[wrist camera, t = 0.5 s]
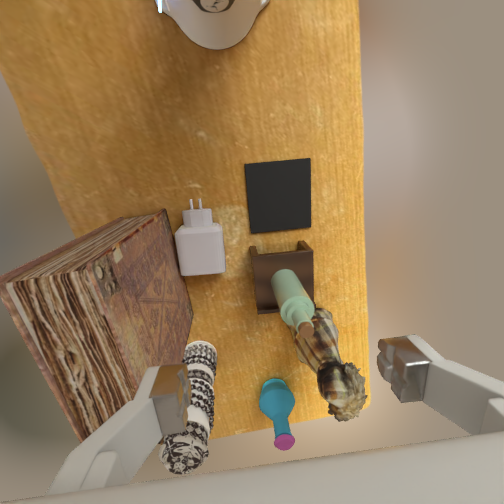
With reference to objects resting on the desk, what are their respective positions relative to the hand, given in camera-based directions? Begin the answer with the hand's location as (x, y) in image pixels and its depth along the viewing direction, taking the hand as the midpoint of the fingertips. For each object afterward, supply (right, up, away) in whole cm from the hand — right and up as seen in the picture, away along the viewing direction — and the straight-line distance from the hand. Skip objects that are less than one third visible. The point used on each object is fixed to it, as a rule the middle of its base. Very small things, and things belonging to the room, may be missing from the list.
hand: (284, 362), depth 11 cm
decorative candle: (-14, -21, +54) cm, 60 cm away
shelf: (+5, +1, +48) cm, 48 cm away
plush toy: (+13, -12, +53) cm, 56 cm away
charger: (-12, +9, +44) cm, 46 cm away
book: (-21, +1, +46) cm, 51 cm away
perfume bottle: (+5, -32, +59) cm, 68 cm away
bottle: (+5, -1, +41) cm, 41 cm away
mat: (+4, +16, +43) cm, 46 cm away
